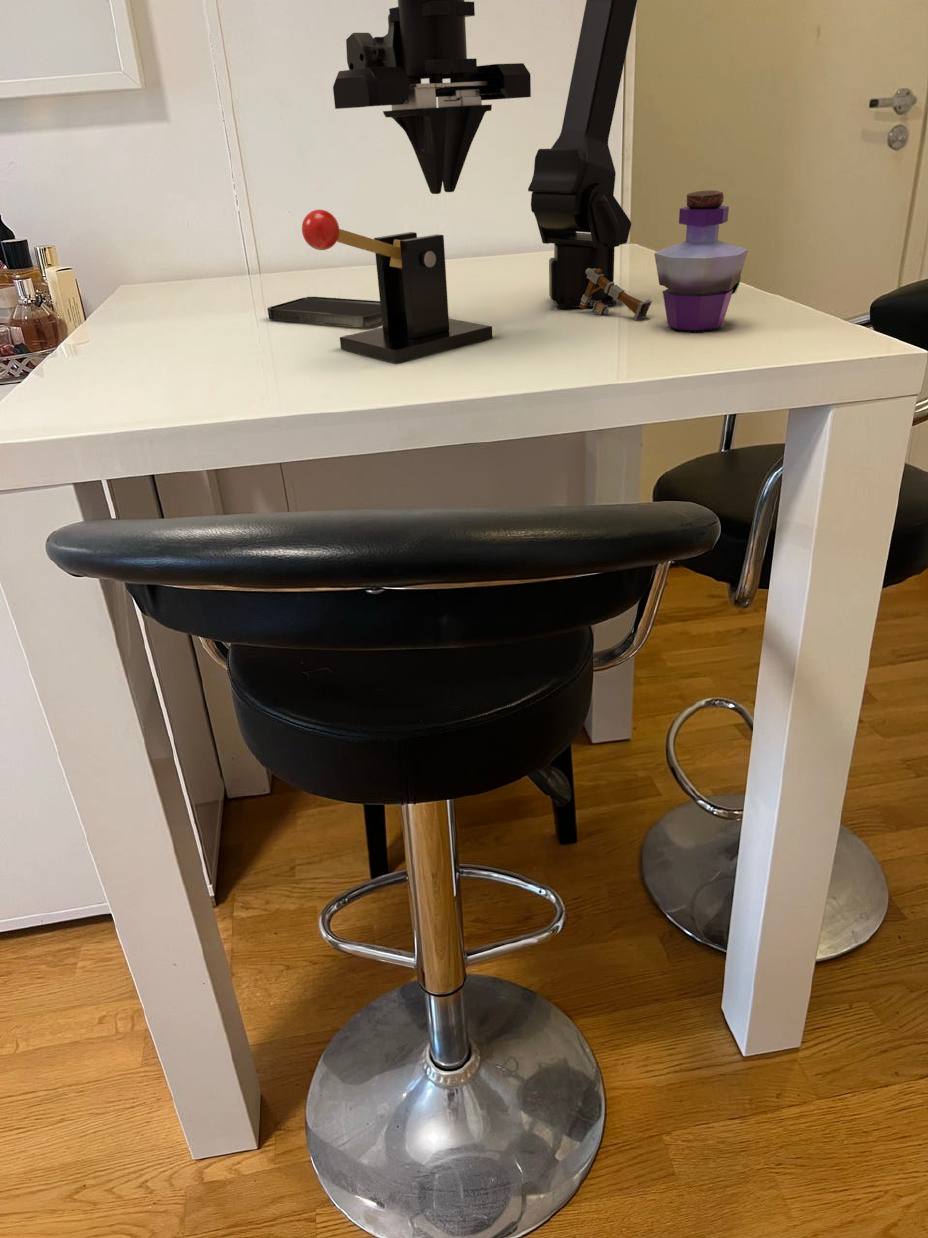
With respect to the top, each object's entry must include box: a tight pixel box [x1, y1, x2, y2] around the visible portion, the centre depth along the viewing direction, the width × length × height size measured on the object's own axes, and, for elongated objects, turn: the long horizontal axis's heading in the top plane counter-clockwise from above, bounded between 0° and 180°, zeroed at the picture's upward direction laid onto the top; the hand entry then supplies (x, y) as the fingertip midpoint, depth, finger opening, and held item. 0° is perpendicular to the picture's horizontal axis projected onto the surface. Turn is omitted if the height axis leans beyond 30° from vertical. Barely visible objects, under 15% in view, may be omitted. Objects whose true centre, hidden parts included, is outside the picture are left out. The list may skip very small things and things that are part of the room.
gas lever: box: [301, 209, 402, 270], centre depth 79 cm, size 13×3×3 cm, turn 131°
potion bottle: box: [654, 189, 749, 334], centre depth 84 cm, size 9×9×12 cm
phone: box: [266, 296, 382, 328], centre depth 100 cm, size 8×1×15 cm
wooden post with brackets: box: [578, 268, 653, 321], centre depth 93 cm, size 2×8×4 cm, turn 48°
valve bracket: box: [339, 231, 494, 364], centre depth 85 cm, size 12×9×10 cm
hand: (442, 192), depth 83 cm, fingers closed
